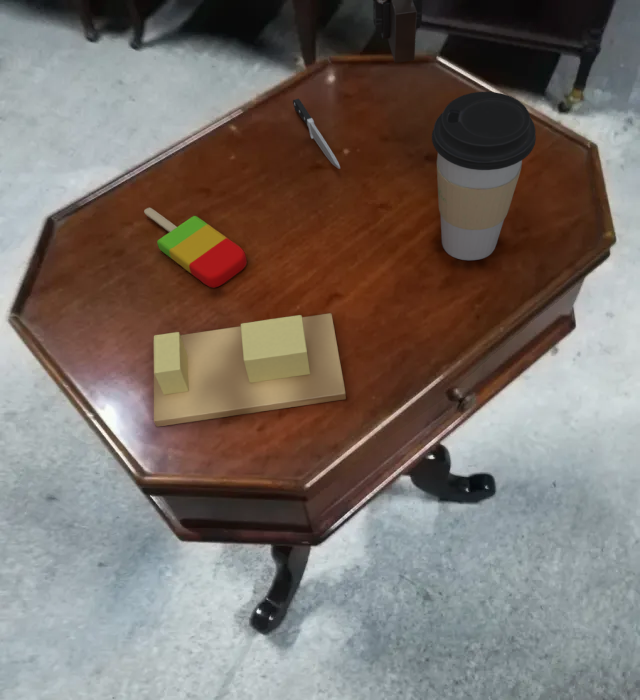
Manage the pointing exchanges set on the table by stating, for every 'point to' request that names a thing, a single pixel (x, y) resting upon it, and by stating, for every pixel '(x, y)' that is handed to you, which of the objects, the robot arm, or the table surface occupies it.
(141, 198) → the table surface
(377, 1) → the robot arm
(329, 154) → the knife
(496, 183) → the coffee cup
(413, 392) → the table surface
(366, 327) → the table surface
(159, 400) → the board
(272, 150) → the table surface
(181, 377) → the butter pat
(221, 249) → the popsicle
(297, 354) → the butter stick
